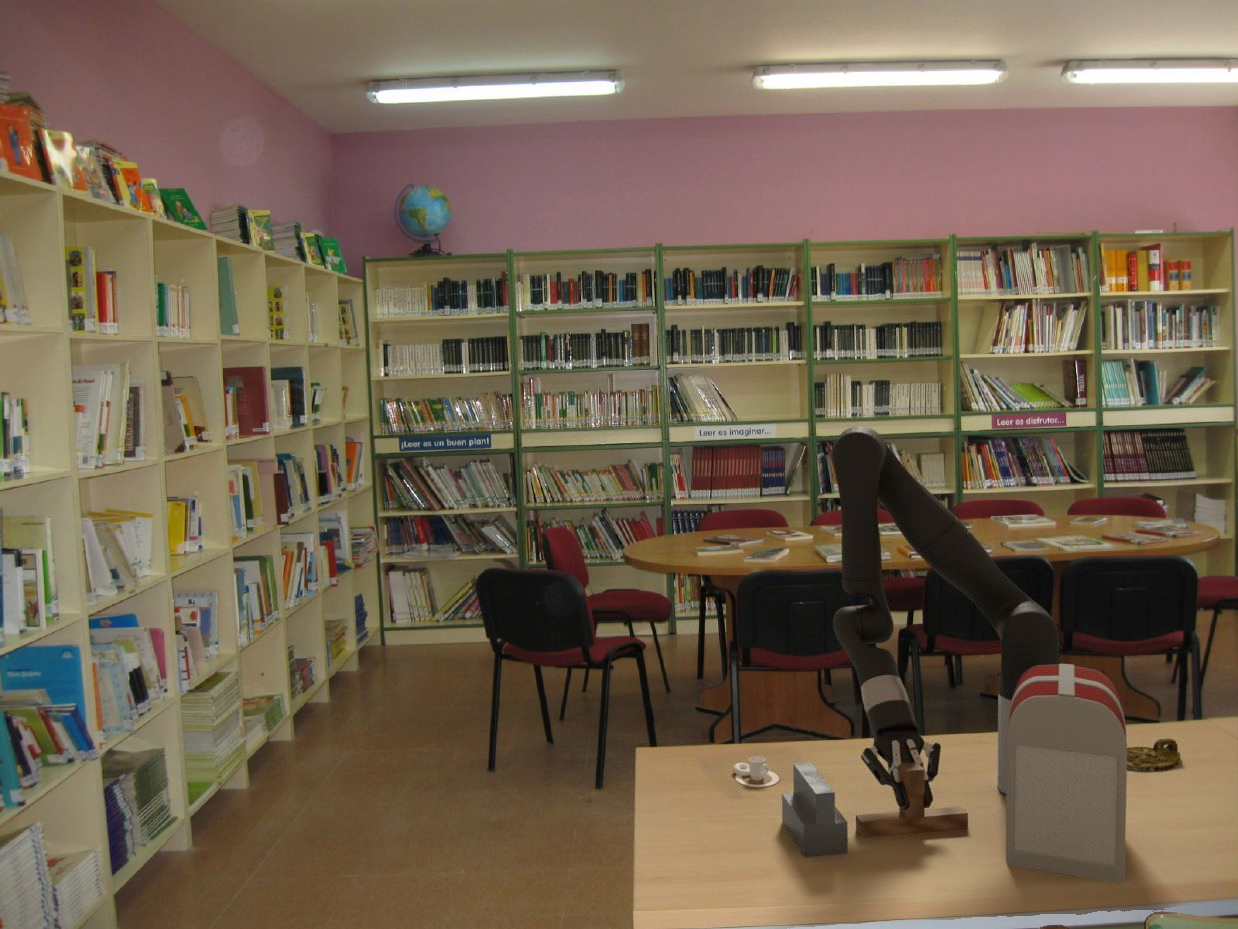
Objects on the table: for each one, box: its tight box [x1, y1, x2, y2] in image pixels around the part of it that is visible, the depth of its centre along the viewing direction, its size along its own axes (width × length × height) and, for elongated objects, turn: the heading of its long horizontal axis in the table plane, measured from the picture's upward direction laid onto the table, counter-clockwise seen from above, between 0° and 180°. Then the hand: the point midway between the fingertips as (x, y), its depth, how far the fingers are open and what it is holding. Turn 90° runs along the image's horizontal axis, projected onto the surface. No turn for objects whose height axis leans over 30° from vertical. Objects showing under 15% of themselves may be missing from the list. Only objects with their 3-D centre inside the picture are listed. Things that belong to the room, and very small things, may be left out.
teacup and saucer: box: [732, 755, 780, 788], centre depth 185 cm, size 9×8×4 cm
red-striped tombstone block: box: [1005, 663, 1128, 884], centre depth 155 cm, size 17×18×27 cm
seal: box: [1127, 738, 1181, 772], centre depth 187 cm, size 9×5×15 cm
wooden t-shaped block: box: [855, 763, 969, 838], centre depth 163 cm, size 18×3×10 cm, turn 97°
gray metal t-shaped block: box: [781, 761, 849, 858], centre depth 161 cm, size 12×7×10 cm, turn 7°
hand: (917, 806), depth 161 cm, fingers closed on wooden t-shaped block, 3 cm apart
